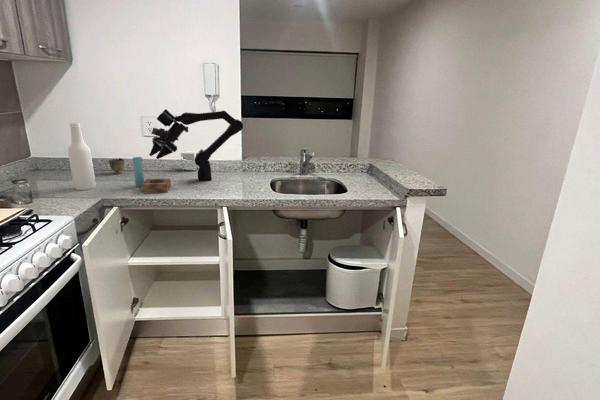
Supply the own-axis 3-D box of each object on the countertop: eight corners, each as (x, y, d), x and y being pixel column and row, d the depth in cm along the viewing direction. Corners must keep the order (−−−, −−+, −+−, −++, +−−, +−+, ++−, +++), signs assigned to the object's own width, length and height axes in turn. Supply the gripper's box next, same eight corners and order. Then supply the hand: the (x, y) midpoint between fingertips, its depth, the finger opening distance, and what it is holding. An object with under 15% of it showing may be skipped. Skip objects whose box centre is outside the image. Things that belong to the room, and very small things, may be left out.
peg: (145, 185, 170) (142, 156, 166) (143, 187, 166) (140, 158, 162) (137, 185, 169) (133, 156, 165) (135, 187, 166) (131, 158, 162)
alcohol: (100, 186, 166) (90, 122, 157) (88, 190, 158) (77, 124, 149) (82, 185, 167) (72, 121, 158) (69, 190, 158) (58, 123, 149)
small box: (198, 169, 208) (197, 151, 205) (195, 171, 203) (194, 153, 199) (186, 168, 209) (184, 151, 205) (182, 170, 203) (180, 152, 200)
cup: (108, 173, 191) (106, 159, 189) (122, 171, 197) (120, 157, 194) (113, 175, 187) (111, 161, 184) (127, 173, 192) (126, 159, 189)
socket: (170, 186, 169) (170, 178, 168) (167, 192, 159) (166, 183, 158) (147, 186, 167) (146, 178, 166) (142, 192, 157) (141, 184, 156)
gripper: (154, 120, 174) (133, 143, 170) (168, 123, 160) (146, 148, 157) (171, 135, 181) (151, 158, 177) (186, 139, 168) (165, 164, 164)
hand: (153, 157), depth 169 cm, fingers open, 9 cm apart
